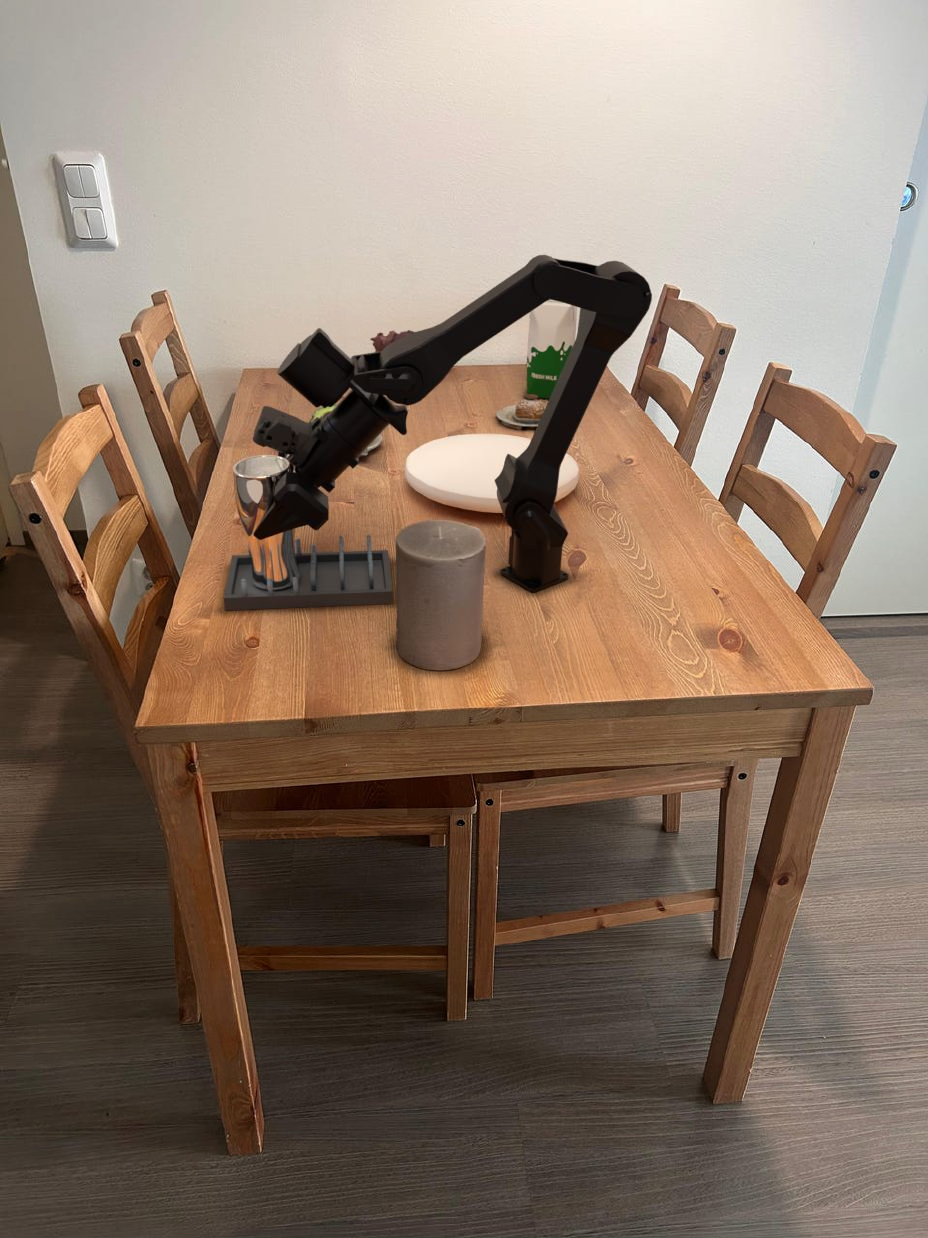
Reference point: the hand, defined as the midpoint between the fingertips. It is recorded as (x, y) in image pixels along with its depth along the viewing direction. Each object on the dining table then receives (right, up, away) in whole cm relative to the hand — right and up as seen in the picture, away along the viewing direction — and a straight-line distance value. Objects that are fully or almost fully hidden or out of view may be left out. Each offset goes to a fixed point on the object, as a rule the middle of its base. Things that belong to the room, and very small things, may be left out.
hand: (258, 524), depth 111 cm
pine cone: (+14, +39, +82) cm, 92 cm away
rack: (+5, -7, +5) cm, 10 cm away
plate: (+29, +9, +33) cm, 44 cm away
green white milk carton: (+41, +34, +74) cm, 91 cm away
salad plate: (+2, +18, +48) cm, 51 cm away
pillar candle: (+22, -15, -6) cm, 27 cm away
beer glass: (+1, -6, +4) cm, 8 cm away
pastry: (+37, +25, +60) cm, 75 cm away
